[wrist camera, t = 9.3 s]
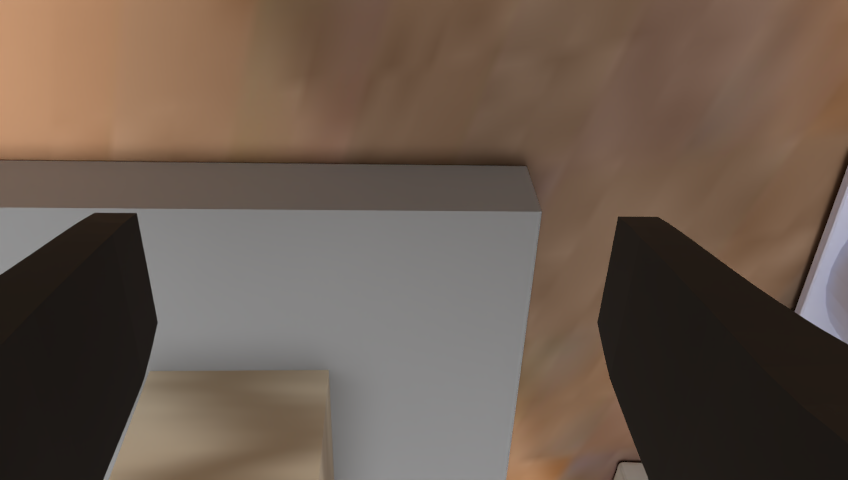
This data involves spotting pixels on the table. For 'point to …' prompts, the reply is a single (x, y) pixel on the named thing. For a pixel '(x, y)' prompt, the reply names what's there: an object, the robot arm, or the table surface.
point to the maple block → (230, 427)
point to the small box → (630, 471)
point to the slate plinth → (327, 289)
